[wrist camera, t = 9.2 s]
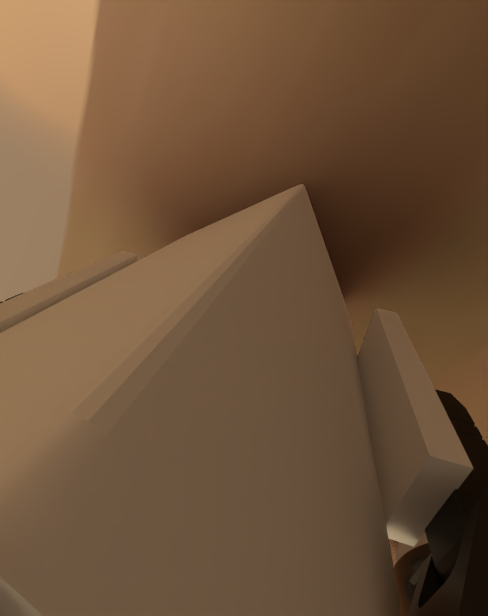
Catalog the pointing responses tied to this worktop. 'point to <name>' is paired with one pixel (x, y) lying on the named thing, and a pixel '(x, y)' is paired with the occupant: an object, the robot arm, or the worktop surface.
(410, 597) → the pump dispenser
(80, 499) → the milk carton
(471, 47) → the worktop surface
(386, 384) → the robot arm
